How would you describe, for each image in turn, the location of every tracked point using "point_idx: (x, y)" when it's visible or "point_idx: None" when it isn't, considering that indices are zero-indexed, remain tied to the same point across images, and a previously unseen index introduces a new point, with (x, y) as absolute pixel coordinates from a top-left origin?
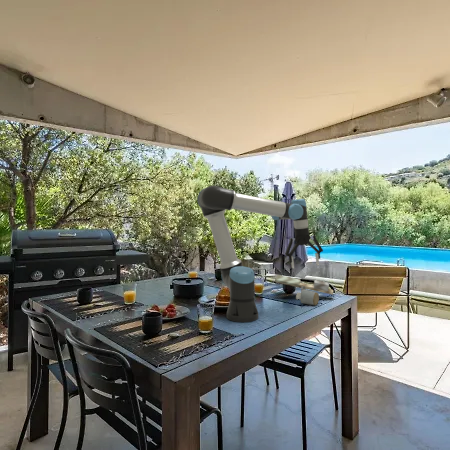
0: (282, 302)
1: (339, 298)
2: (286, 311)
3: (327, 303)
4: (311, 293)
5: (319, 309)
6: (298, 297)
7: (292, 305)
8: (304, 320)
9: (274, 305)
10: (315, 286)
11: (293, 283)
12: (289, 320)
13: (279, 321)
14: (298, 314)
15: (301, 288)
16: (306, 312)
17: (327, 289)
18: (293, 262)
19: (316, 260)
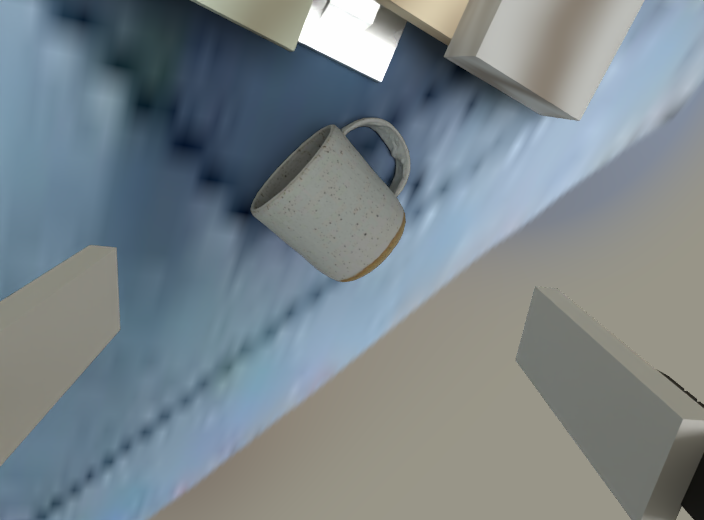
0: (120, 107)
1: (611, 75)
2: None
3: (455, 196)
4: (335, 262)
5: (339, 322)
6: None
7: (185, 209)
8: (178, 494)
9: (34, 187)
10: (467, 63)
11: (228, 16)
12: (92, 493)
13: (28, 506)
14: (172, 403)
15: (331, 7)
16: (235, 371)
17: (546, 114)
18: (59, 395)
19: (566, 355)
